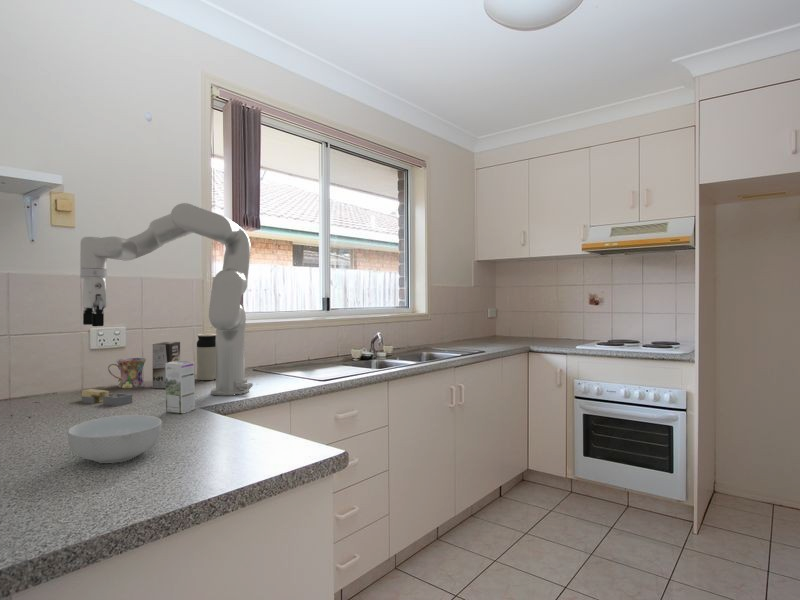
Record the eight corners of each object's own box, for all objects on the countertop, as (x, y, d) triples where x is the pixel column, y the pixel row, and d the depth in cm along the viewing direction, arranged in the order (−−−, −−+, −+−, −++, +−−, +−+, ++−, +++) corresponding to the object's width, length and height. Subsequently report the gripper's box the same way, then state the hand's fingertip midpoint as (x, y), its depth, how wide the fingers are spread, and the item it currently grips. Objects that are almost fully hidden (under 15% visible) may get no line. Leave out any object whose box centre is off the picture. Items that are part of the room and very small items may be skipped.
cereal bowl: (59, 477, 92) (58, 439, 91) (77, 451, 107) (77, 418, 107) (160, 464, 98) (159, 429, 98) (163, 441, 114) (163, 411, 113)
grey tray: (158, 400, 157) (158, 388, 157) (85, 417, 135) (85, 404, 135) (126, 396, 163) (126, 385, 163) (50, 412, 141) (50, 399, 141)
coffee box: (169, 388, 177) (169, 343, 177) (151, 388, 177) (151, 343, 177) (181, 383, 186) (181, 341, 186) (164, 383, 186) (164, 341, 186)
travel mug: (198, 381, 191) (198, 335, 190) (195, 378, 197) (195, 334, 197) (219, 379, 195) (219, 334, 194) (216, 376, 201) (216, 333, 201)
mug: (147, 385, 182) (147, 357, 182) (144, 390, 173) (144, 360, 173) (111, 388, 178) (110, 358, 178) (105, 392, 169) (105, 362, 169)
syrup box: (195, 409, 144) (195, 360, 144) (180, 414, 139) (180, 363, 139) (180, 408, 146) (180, 359, 146) (164, 412, 141) (164, 362, 141)
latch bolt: (108, 400, 151) (108, 390, 151) (99, 402, 148) (99, 392, 148) (91, 398, 154) (91, 388, 154) (81, 400, 151) (81, 390, 151)
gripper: (114, 274, 161) (114, 326, 161) (98, 275, 172) (97, 323, 173) (88, 273, 155) (88, 327, 155) (73, 274, 167) (72, 324, 167)
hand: (93, 325), depth 164 cm, fingers open, 9 cm apart
